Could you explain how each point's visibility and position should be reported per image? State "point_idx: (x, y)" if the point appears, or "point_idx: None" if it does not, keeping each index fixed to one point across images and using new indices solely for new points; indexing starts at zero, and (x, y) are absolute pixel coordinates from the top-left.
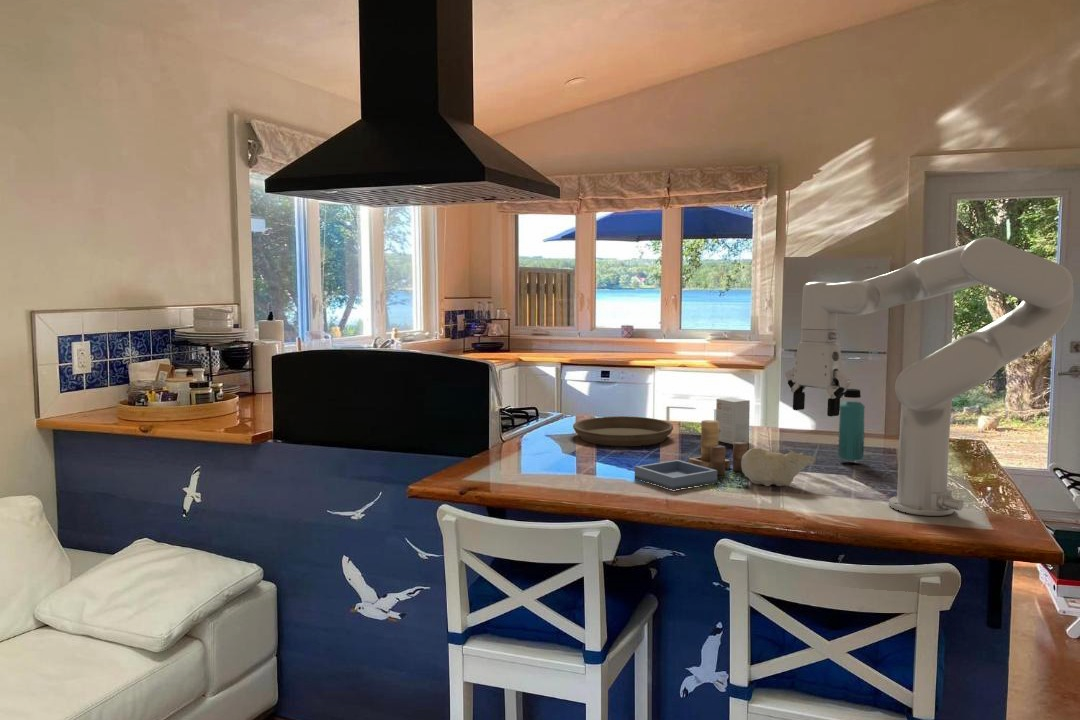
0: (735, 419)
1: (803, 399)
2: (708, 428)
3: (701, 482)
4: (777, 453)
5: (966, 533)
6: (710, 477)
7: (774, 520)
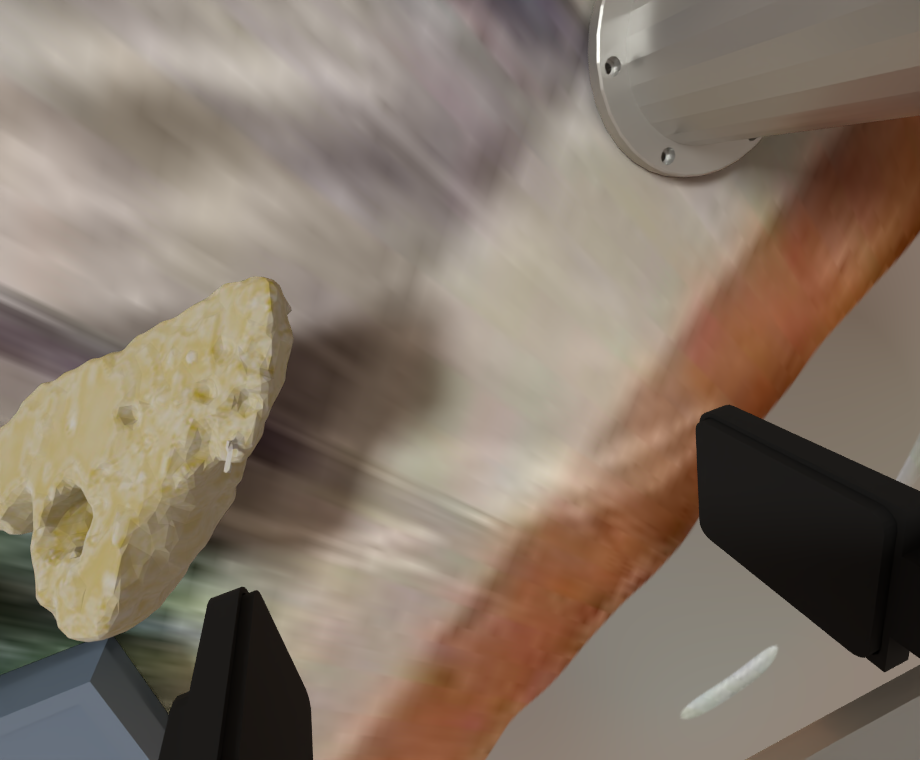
0: None
1: (253, 717)
2: None
3: (149, 708)
4: (172, 494)
5: (891, 154)
6: (121, 687)
7: (592, 588)
